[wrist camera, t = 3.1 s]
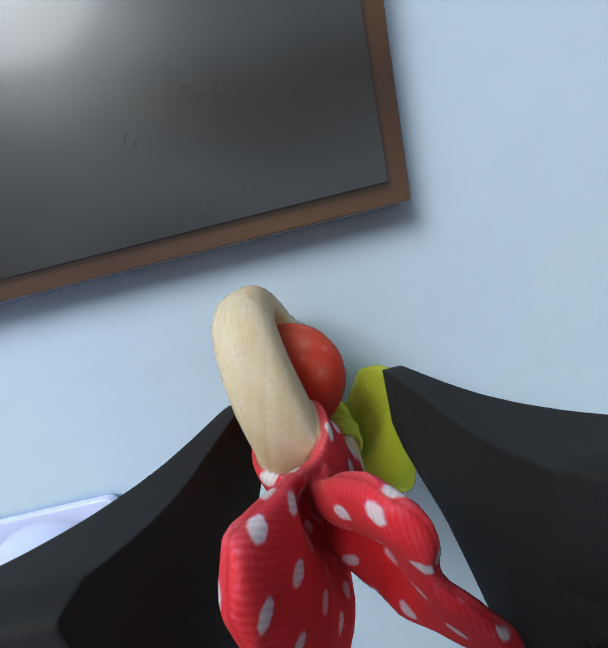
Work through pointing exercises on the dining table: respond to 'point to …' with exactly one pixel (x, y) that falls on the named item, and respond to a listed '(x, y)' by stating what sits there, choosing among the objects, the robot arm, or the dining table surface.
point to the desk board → (185, 129)
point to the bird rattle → (324, 496)
